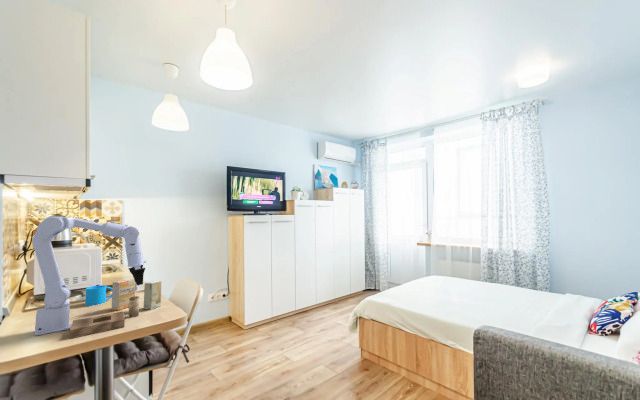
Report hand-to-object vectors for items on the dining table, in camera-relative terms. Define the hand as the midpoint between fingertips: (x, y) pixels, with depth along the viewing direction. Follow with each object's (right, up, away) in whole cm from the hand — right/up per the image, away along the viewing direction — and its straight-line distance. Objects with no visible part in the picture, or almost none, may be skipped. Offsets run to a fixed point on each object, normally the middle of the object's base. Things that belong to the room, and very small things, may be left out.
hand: (139, 283), depth 124 cm
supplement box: (-14, -15, +9) cm, 22 cm away
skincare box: (0, -15, +9) cm, 17 cm away
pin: (-1, -14, -2) cm, 14 cm away
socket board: (-6, -13, -15) cm, 21 cm away
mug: (-33, -16, +19) cm, 41 cm away
